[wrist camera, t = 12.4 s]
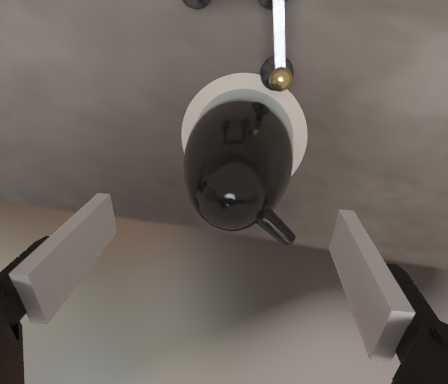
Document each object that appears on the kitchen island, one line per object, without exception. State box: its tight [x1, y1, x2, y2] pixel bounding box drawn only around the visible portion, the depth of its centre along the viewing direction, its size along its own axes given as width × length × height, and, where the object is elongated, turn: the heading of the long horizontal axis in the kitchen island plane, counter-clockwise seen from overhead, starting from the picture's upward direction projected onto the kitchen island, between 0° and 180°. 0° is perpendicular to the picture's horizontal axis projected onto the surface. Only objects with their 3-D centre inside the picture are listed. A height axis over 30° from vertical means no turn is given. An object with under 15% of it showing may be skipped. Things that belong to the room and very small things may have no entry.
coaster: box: [181, 72, 308, 176], centre depth 31 cm, size 14×14×1 cm
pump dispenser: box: [184, 98, 296, 246], centre depth 24 cm, size 10×10×15 cm
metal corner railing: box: [183, 0, 293, 92], centre depth 23 cm, size 11×10×8 cm
